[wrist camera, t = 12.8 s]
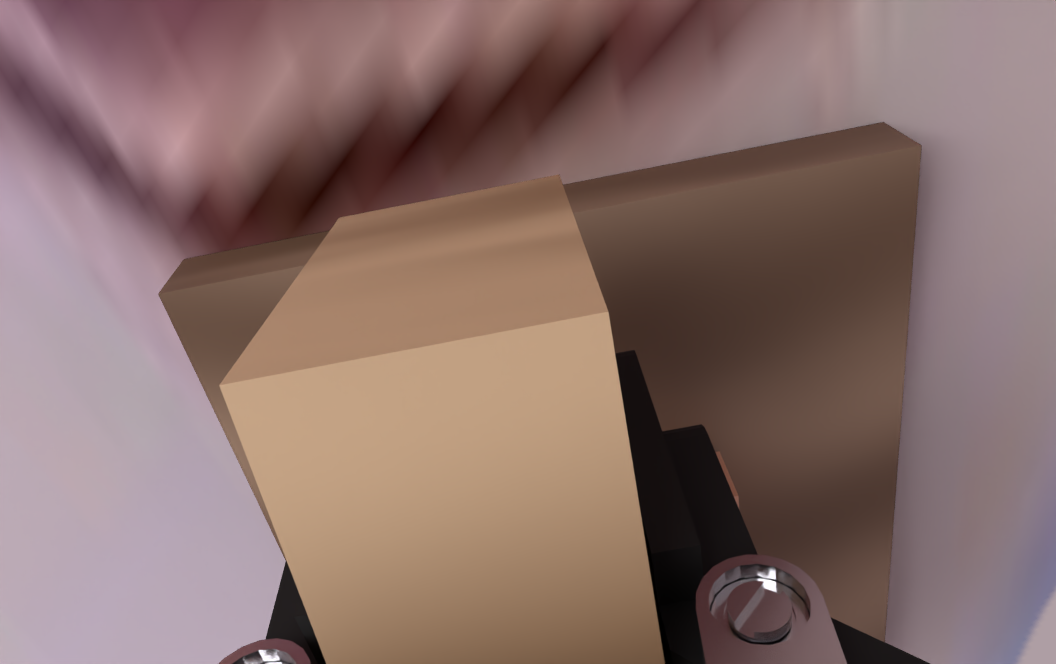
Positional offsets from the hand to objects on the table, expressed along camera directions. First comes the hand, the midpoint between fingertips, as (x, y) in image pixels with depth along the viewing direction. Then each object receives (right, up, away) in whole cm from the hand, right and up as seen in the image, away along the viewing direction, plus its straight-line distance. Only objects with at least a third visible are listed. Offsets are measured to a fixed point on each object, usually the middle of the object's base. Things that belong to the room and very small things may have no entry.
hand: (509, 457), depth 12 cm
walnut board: (+2, -2, +7) cm, 8 cm away
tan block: (+1, -3, +1) cm, 3 cm away
